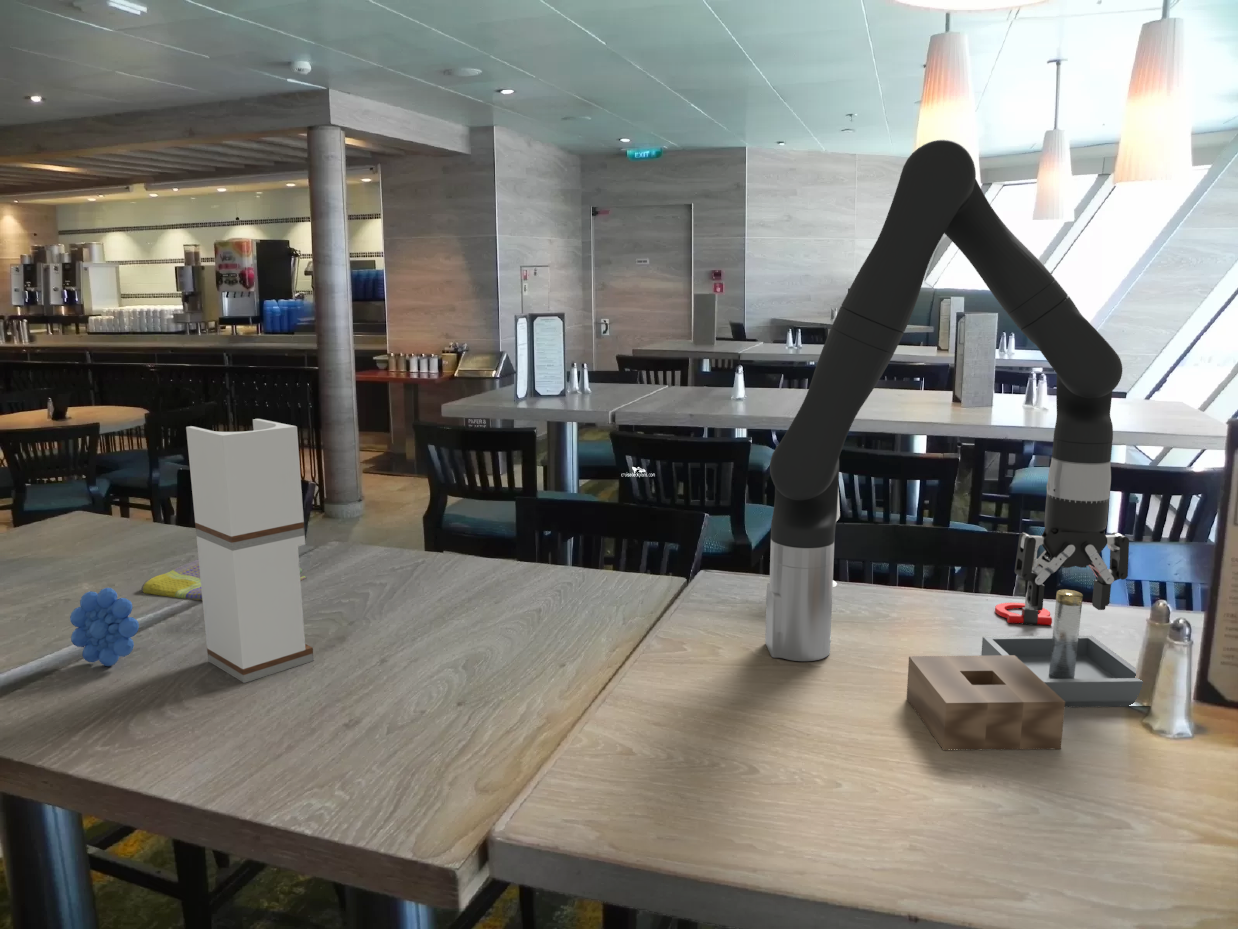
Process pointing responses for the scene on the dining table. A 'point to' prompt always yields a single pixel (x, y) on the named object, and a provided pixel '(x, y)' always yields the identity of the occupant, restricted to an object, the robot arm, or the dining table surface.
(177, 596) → the dish towel
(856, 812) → the dining table surface
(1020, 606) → the tow hook
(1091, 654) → the tray
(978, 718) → the block
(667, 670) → the dining table surface
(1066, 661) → the pin
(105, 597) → the blue beaded flower
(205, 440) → the white open tower
